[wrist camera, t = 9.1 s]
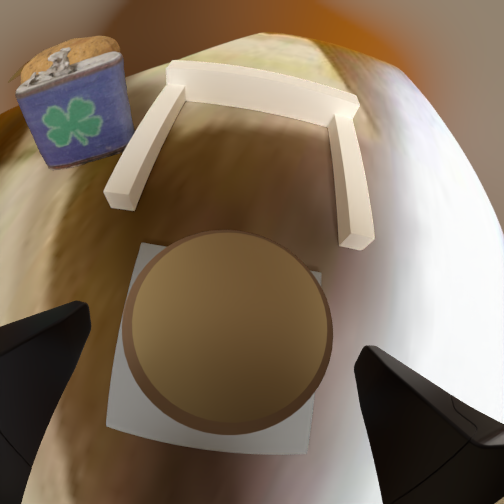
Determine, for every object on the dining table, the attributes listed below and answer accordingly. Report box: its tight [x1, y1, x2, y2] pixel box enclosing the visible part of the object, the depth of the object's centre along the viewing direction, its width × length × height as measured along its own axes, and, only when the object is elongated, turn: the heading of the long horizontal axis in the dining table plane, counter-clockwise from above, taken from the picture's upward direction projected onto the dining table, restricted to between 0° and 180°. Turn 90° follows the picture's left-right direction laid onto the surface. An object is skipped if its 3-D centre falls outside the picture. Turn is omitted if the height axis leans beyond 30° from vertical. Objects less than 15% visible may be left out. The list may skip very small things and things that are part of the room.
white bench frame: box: [103, 60, 375, 251], centre depth 20 cm, size 16×19×4 cm
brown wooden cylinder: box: [122, 230, 333, 435], centre depth 10 cm, size 4×4×11 cm
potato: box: [21, 36, 120, 85], centre depth 19 cm, size 10×14×8 cm
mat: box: [106, 243, 321, 455], centre depth 15 cm, size 12×12×1 cm
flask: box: [16, 47, 135, 170], centre depth 15 cm, size 9×3×11 cm, turn 105°
